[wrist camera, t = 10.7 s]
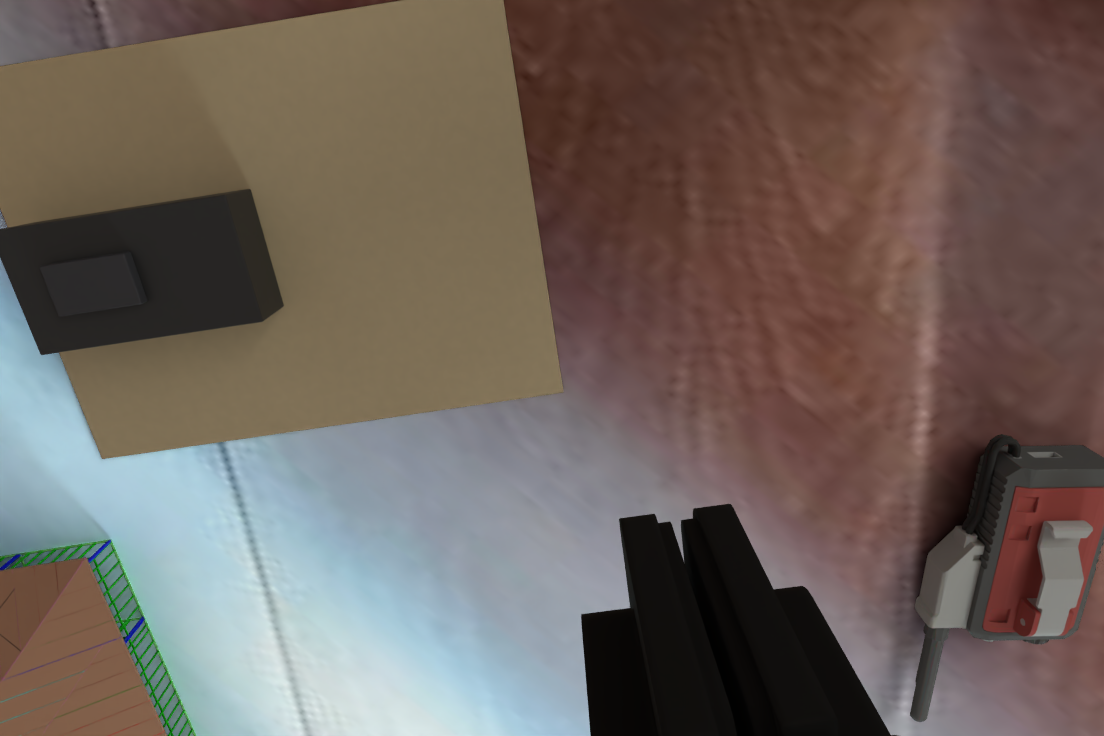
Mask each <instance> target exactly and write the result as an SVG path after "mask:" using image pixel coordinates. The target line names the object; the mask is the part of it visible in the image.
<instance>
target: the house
mask: <svg viewBox="0 0 1104 736" xmlns="http://www.w3.org/2000/svg"><path fill="white" fill-rule="evenodd" d="M99 543H105V544H104V545H103V546H102V547H100V548H99V549H98V550H97V551H96V552H95V553H94V554H93V555H92V556H91V557H89V558H87V557H85V558H82V557H83V556H84V555H85V554H86V553H87V552H88V551H89V550H90V549H91V548H92V547H94V546H95V545H96V544H99ZM109 544H111V547H112V549H113V551H112V552H111V553H110V554H109V555H108V556H107V557H106V558H105V559H104V560H103V561H102V562H101V563H100V564H99V565H98V564H97V562H96V560H95V558H96V557H97V556H98V555H99V554H100V553H101V552H102V551H103V550H104V549H105V548H106V547H107V546H108V545H109ZM86 545H91V546H90V547H89V548H88V549H87V550H86V551H85V552H84V553H83V554H82V555H81V556H80V557H79V558H78V559H72V560H68V559H69V558H71V557H72V556H73V555H74V554H75V553H76V552H77V551H78V550H79V549H80V548H81V547H82V546H86ZM73 547H78V548H77V549H76V550H75V551H74V552H73V553H71V554H70V555H69V556H68V557H67V558H66V559H65V560H64V561H59V562H55V561H56V560H57V559H58V558H59V557H60V556H61V555H63V554H64V553H65V552H66V551H67V550H68V549H69V548H73ZM60 549H65V550H64V551H62V552H61V553H60V554H59V555H58V556H57V557H56V558H55V559H54V560H53V561H51V562H50V563H46V564H41V563H42V562H44V561H45V560H46V559H47V558H48V557H49V556H50V555H52V554H53V553H54V552H55V551H56V550H60ZM47 551H51V552H50V553H49V554H48V555H47V556H46V557H45V558H44V559H42V560H41V561H40V562H39V563H38V564H37V565H32V566H28V565H29V564H30V563H31V562H32V561H34V560H35V559H36V558H37V557H38V556H39V555H41V554H42V553H43V552H47ZM113 552H114V554H115V556H116V558H117V560H118V562H117V563H116V564H115V565H114V566H113V567H112V568H111V569H110V571H109V572H108V573H107V574H106V575H105V576H104V577H102V575H101V573H100V571H99V566H100V565H101V564H102V563H103V562H104V561H105V560H106V559H107V558H108V557H109V556H110V555H111V554H112V553H113ZM33 553H38V554H37V555H36V556H35V557H34V558H32V559H31V560H30V561H29V562H28V563H27V564H25V563H24V561H23V560H24V559H25V558H26V557H27V556H29V555H30V554H33ZM21 555H25V556H24V557H23V558H22V556H21ZM7 557H13V558H11V559H10V560H9V561H8V562H7V563H5V564H4V565H3V566H2V567H1V568H0V736H167V734H166V732H165V730H164V727H165V726H166V724H167V726H168V728H169V730H170V733H169V734H168V736H170V735H171V736H173V733H172V731H173V730H174V728H175V726H176V725H177V723H178V721H179V720H180V718H181V717H182V715H183V713H184V714H185V717H186V719H187V721H186V723H185V724H184V726H183V728H182V729H181V731H180V733H179V734H178V736H180V735H181V733H182V732H183V730H184V728H185V726H186V725H187V723H188V724H189V726H190V728H191V730H190V732H189V734H188V736H190V734H191V733H193V735H194V736H196V734H195V732H194V729H193V727H192V725H191V722H190V720H189V718H188V715H187V713H186V711H185V709H184V706H183V704H182V702H181V699H180V697H179V695H178V692H177V690H176V688H175V686H174V683H173V681H172V679H171V676H170V674H169V672H168V669H167V667H166V665H165V662H164V660H163V658H162V656H161V653H160V651H159V649H158V646H157V644H156V642H155V639H154V637H153V635H152V632H151V630H150V628H149V626H148V623H147V621H146V619H145V616H144V614H143V612H142V609H141V607H140V605H139V603H138V600H137V598H136V596H135V593H134V591H133V589H132V586H131V584H130V582H129V579H128V577H127V575H126V573H125V570H124V568H123V566H122V563H121V561H120V559H119V556H118V554H117V552H116V549H115V547H114V545H113V543H112V540H104V541H98V542H91V543H84V544H78V545H71V546H65V547H58V548H52V549H45V550H38V551H32V552H25V553H19V554H12V555H6V556H0V562H1V561H2V560H3V559H4V558H7ZM18 558H20V560H19V561H18V562H17V563H15V564H14V565H13V566H12V567H11V568H10V569H6V568H7V567H8V566H9V565H11V564H12V563H13V562H14V561H15V560H17V559H18ZM92 561H94V563H95V565H96V568H95V569H94V570H93V571H92V568H91V566H90V563H91V562H92ZM20 562H22V564H23V567H19V568H14V567H16V566H17V565H18V564H19V563H20ZM118 564H119V565H120V567H121V570H122V572H123V573H122V575H121V576H120V577H119V578H118V579H117V580H116V581H115V582H114V583H113V584H112V585H111V586H110V588H109V589H108V587H107V585H106V582H105V580H104V579H105V578H106V576H107V575H108V574H109V573H110V572H111V571H112V570H113V569H114V568H115V567H116V566H117V565H118ZM5 569H6V570H5ZM96 570H97V571H98V574H99V576H100V578H101V580H100V581H99V582H97V580H96V577H95V575H94V572H95V571H96ZM123 575H124V577H125V579H126V581H127V583H128V584H127V586H126V587H125V588H124V589H123V590H122V591H121V592H120V593H119V595H118V596H117V597H116V598H115V599H114V600H112V597H111V595H110V593H109V590H110V589H111V588H112V587H113V586H114V585H115V584H116V583H117V582H118V581H119V580H120V578H121V577H122V576H123ZM102 581H103V583H104V585H105V588H106V590H107V591H106V592H105V593H104V594H103V593H102V591H101V588H100V586H99V584H100V583H101V582H102ZM128 586H129V588H130V590H131V593H132V596H131V598H130V599H129V600H128V601H127V602H126V603H125V605H124V606H123V607H122V608H121V609H120V610H119V611H118V609H117V607H116V605H115V601H116V600H117V599H118V598H119V596H120V595H121V594H122V593H123V592H124V591H125V590H126V588H127V587H128ZM106 594H108V596H109V598H110V600H111V604H110V605H109V606H108V604H107V602H106V599H105V597H104V596H105V595H106ZM133 597H134V599H135V602H136V604H137V607H136V608H135V610H134V611H133V612H132V613H131V614H130V616H129V617H128V618H127V619H125V620H121V617H120V615H119V613H120V612H121V611H122V610H123V609H124V608H125V606H126V605H127V604H128V603H129V602H130V601H131V599H132V598H133ZM112 604H113V605H114V608H115V610H116V612H117V614H116V615H115V616H114V617H113V615H112V613H111V611H110V607H111V605H112ZM137 609H139V611H140V613H141V616H142V617H139V618H132V619H130V617H131V616H132V615H133V614H134V613H135V611H136V610H137ZM117 616H118V618H119V621H115V618H116V617H117ZM133 620H139V621H138V623H137V624H136V625H135V626H134V627H133V629H132V630H131V631H130V632H129V634H128V631H127V629H126V626H127V624H128V623H129V622H130V621H133ZM123 622H124V623H123ZM143 622H145V626H144V627H143V628H142V630H141V631H140V632H139V634H138V635H137V636H136V637H135V639H134V640H133V641H132V642H131V640H130V638H131V637H132V635H133V634H134V633H135V632H136V630H137V629H138V628H139V627H140V625H141V624H142V623H143ZM117 623H121V626H120V628H118V626H117ZM125 623H126V624H125ZM146 627H147V629H148V631H147V632H146V633H145V635H144V636H143V637H142V639H141V640H140V641H139V643H138V644H137V645H136V646H135V647H134V645H133V643H134V642H135V641H136V639H137V638H138V637H139V635H140V634H141V633H142V632H143V630H144V629H145V628H146ZM123 629H124V630H125V632H126V634H127V636H126V637H122V635H121V632H122V630H123ZM148 633H149V634H150V636H151V639H152V642H151V643H150V645H149V646H148V647H147V649H146V650H145V651H144V653H143V654H142V655H141V657H140V658H138V655H137V653H136V651H135V650H136V648H137V647H138V646H139V644H140V643H141V642H142V641H143V639H144V638H145V637H146V635H147V634H148ZM128 640H129V643H130V645H129V646H128V648H127V646H126V643H127V642H128ZM153 643H154V645H155V648H156V650H157V652H156V653H155V655H154V656H153V657H152V659H151V660H150V661H149V663H148V664H147V666H146V667H145V668H144V667H143V665H142V663H141V661H140V660H141V659H142V657H143V656H144V655H145V653H146V652H147V651H148V649H149V648H150V647H151V645H152V644H153ZM131 646H132V648H133V650H132V652H131V653H129V648H130V647H131ZM133 652H134V654H135V656H136V658H137V660H138V661H137V662H136V664H134V661H133V659H132V657H131V655H132V654H133ZM157 654H158V655H159V657H160V659H161V663H160V664H159V665H158V667H157V668H156V670H155V671H154V673H153V674H152V675H151V677H150V678H149V680H148V678H147V675H146V673H145V670H146V669H147V668H148V666H149V665H150V663H151V662H152V661H153V659H154V658H155V656H156V655H157ZM138 663H140V666H141V668H142V670H143V671H142V673H141V674H140V675H139V672H138V670H137V668H136V666H137V664H138ZM162 664H163V666H164V668H165V671H166V672H165V673H164V675H163V676H162V678H161V679H160V681H159V682H158V684H157V685H156V687H155V688H154V690H153V687H152V685H151V683H150V680H151V679H152V677H153V676H154V675H155V673H156V672H157V670H158V669H159V667H160V666H161V665H162ZM143 674H144V676H145V678H146V680H147V683H146V684H145V685H144V684H143V681H142V679H141V676H142V675H143ZM166 674H167V675H168V678H169V680H170V682H169V684H168V685H167V687H166V688H165V690H164V691H163V693H162V694H161V696H160V697H159V699H158V700H157V698H156V696H155V693H154V692H155V690H156V689H157V687H158V686H159V684H160V683H161V681H162V680H163V678H164V677H165V675H166ZM148 683H149V686H150V688H151V690H152V692H151V694H150V695H148V692H147V690H146V686H147V685H148ZM170 684H172V687H173V689H174V693H173V694H172V696H171V697H170V699H169V700H168V702H167V704H166V705H165V707H164V708H163V710H162V707H161V705H160V703H159V701H160V700H161V698H162V697H163V695H164V693H165V692H166V690H167V689H168V687H169V686H170ZM175 694H176V696H177V698H178V703H177V704H176V706H175V708H174V709H173V711H172V712H171V714H170V716H169V717H168V719H167V720H166V718H165V716H164V713H163V712H164V710H165V709H166V707H167V706H168V704H169V703H170V701H171V699H172V698H173V696H174V695H175ZM152 695H153V696H154V698H155V701H156V704H155V705H154V706H153V703H152V701H151V699H150V697H151V696H152ZM179 703H180V705H181V707H182V710H183V711H182V713H181V714H180V716H179V718H178V719H177V721H176V723H175V724H174V726H173V728H172V729H171V728H170V725H169V723H168V721H169V719H170V718H171V716H172V715H173V713H174V711H175V710H176V708H177V706H178V705H179ZM157 704H158V706H159V708H160V710H161V713H160V715H159V716H158V714H157V712H156V710H155V707H156V706H157ZM161 715H162V716H163V718H164V721H165V724H164V725H163V726H162V723H161V721H160V719H159V718H160V717H161Z"/></svg>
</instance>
